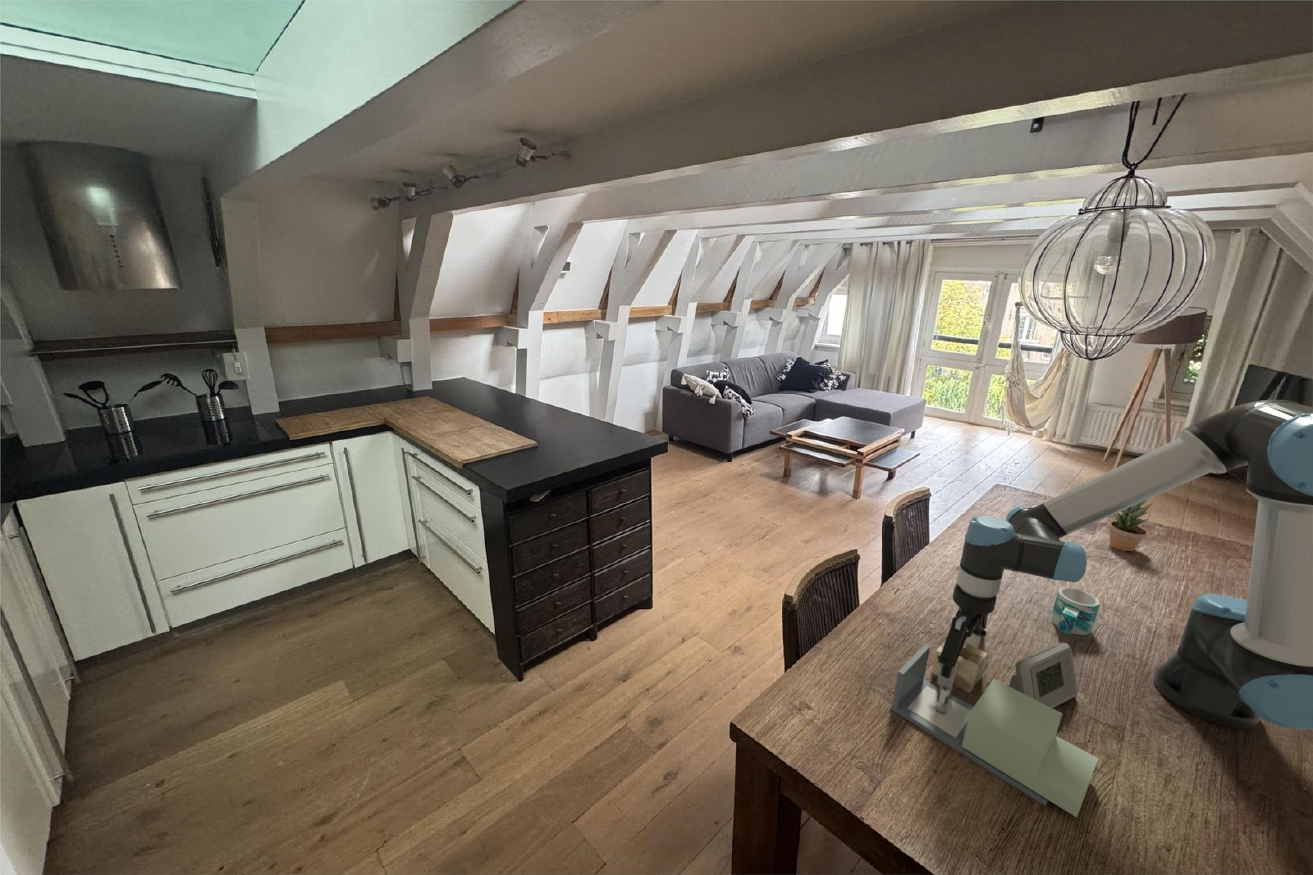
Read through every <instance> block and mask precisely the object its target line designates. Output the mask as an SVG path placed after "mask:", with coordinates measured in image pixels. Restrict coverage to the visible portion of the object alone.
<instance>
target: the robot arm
mask: <svg viewBox="0 0 1313 875" xmlns="http://www.w3.org/2000/svg"><path fill="white" fill-rule="evenodd" d="M1244 466H1247V473H1246V474H1247V475H1246V484H1245V485H1246V486H1245V490H1246V492H1247V493H1249V494H1250V495H1252V496H1253V497H1254V498H1255V499H1257V502H1258V503H1257V511H1256V520H1255V528H1254V536H1253V537H1254V538H1253V546H1252V555H1251V565H1250V573H1249V580H1248V590H1247V600H1246V599H1243V598H1239V597H1234V596H1231V595H1225V594H1218V593H1206V594H1201V595H1199V596H1198V597H1197V598H1196V600H1195V602H1194V603H1193V605H1192V606H1191V607H1190V608H1191V610H1190V613H1189V616H1188V618H1187V621H1186V624H1185V626H1184V629H1183V633H1182V635H1181V638H1180V640H1179V645H1178V647H1177V649H1176V650H1175V651H1176V652H1175V653H1173V654H1172V655H1171V656H1170V657H1169V658H1167V659H1166V660H1165V661H1164V662H1163V663H1162V664H1161V665H1160V666H1158V668H1157V669H1156V671H1155V674H1154V676H1153V683H1154V686H1155V687H1156V689H1157V690H1158V691H1159V692H1160V693H1161V695H1162V696H1164V698H1166V699H1167V700H1169V701H1170V702H1171V703H1173V704H1174V705H1176V706H1177V707H1178V708H1180V709H1182V710H1184V711H1185V712H1187V713H1189V714H1191V715H1193V716H1196V717H1198V718H1199V719H1202V720H1204V721H1206V722H1210V723H1212V724H1216V725H1219V726H1222V727H1225V728H1230V729H1237V730H1250V729H1254V728H1256V726H1257V725H1258V724H1259V721H1260V719H1261V718H1262V719H1264V720H1265V721H1267V722H1269V723H1271V724H1273V725H1276V726H1279V727H1284V728H1287V729H1295V730H1306V731H1307V730H1313V407H1311V406H1307V405H1305V404H1303V403H1300V402H1297V401H1292V400H1284V399H1266V400H1257V401H1256V400H1255V401H1252V402H1251V401H1250V402H1247V403H1244V404H1240V405H1236V406H1234V407H1231V408H1229V409H1226V410H1223V411H1220V412H1218V413H1215V414H1213V415H1211V416H1208V417H1206V418H1204V419H1202V420H1200V421H1198V422H1195V423H1194V424H1192V425H1189V426H1187V427H1185V428H1182V429H1181V430H1180V431H1179V434H1178V437H1177V438H1175V439H1173V440H1172V441H1170V442H1168V443H1164V444H1163V445H1160V446H1159V447H1157V448H1155V449H1153V450H1151V451H1149V452H1147V453H1144V454H1142V455H1141V456H1139V457H1136V458H1134V459H1132V460H1130V461H1128V462H1126V463H1124V464H1122V465H1120V466H1118V467H1116V468H1113V469H1111V470H1109V471H1107V472H1105V473H1103V474H1101V475H1099V476H1096V477H1095V478H1092V479H1091V480H1088V481H1086V482H1085V483H1082V484H1080V485H1077V486H1076V487H1074V488H1072V489H1069V490H1068V491H1066V492H1064V493H1062V494H1059V495H1057V496H1055V497H1054V498H1051V499H1049V500H1047V501H1045V502H1043V503H1040V504H1039V505H1036V506H1031V505H1030V506H1029V505H1022V506H1021V505H1020V506H1016V507H1014V508H1012V509H1011V510H1010V511H1009V512H1008V514H1007V515H1006V517H1005V519H1003V518H999V517H996V516H992V515H983V514H982V515H977V516H974V517H972V518H971V519H970V520H969V524H968V528H967V531H966V534H965V535H964V542H963V543H964V544H963V549H962V551H961V558H960V563H959V565H957V566H956V567H955V569H956V571H958V572H957V575H956V579H955V581H956V582H955V584H954V588H953V592H952V601H953V602H954V603H955V604H956V606H957V607H958V608H959V607H960V609H961V610H958V609H957V612H956V614H955V616H953V618H952V619H951V620H952V621H951V623H950V628H949V630H948V633H947V636H946V638H945V640H946V641H945V640H944V641H945V644H944V647H943V649H942V652H941V655H940V656H939V655H938V662H940V663H941V667H940V671H939V675H938V676H937V682H936V686H937V685H938V687H941V686H943V687H946V688H948V689H949V690H950V691H951V692H952V689H953V681H954V677H955V673H956V669H957V665H958V664H956V662H957V660H958V658H959V655H960V653H961V651H962V648H963V646H964V644H965V643H967V644H969V645H971V646H974V647H976V648H978V649H979V646H980V642H981V637H984V638H985V637H986V635H987V634H988V633H987V631H985V630H986V628H987V623H986V620H987V621H988V618H987V614H988V615H989V614H991V613H993V612H994V610H995V608H996V604H997V603H996V602H997V598H998V594H999V592H1000V587H1001V584H1002V580H1003V573H1004V571H1005V570H1007V571H1011V572H1016V573H1017V572H1018V573H1021V574H1026V575H1031V576H1036V577H1040V578H1045V579H1049V580H1050V579H1051V580H1053V581H1061V582H1062V581H1063V582H1069V583H1077V582H1080V581H1081V579H1083V578H1084V576H1085V573H1086V570H1087V566H1088V558H1087V553H1086V550H1085V548H1084V547H1083V546H1082V545H1081V544H1078V543H1074V542H1070V541H1069V540H1061V538H1063V537H1065V536H1067V535H1070V534H1072V533H1074V532H1076V531H1079V530H1080V529H1083V528H1086V527H1088V526H1090V525H1093V524H1095V523H1097V522H1099V521H1103V520H1105V519H1107V518H1110V517H1111V516H1114V514H1116V515H1117V513H1120V512H1121V511H1123V510H1125V509H1127V508H1129V507H1132V506H1134V505H1136V504H1139V503H1141V502H1143V501H1145V500H1147V501H1148V500H1150V499H1153V498H1155V497H1157V496H1159V495H1161V494H1163V493H1166V492H1169V491H1170V490H1173V489H1176V488H1178V487H1180V486H1182V485H1184V484H1187V483H1189V482H1191V481H1193V480H1196V479H1198V478H1200V477H1202V476H1205V475H1206V474H1209V473H1214V472H1215V473H1220V474H1225V473H1227V472H1230V471H1232V470H1234V469H1237V468H1239V467H1240V468H1241V467H1244ZM983 629H985V630H983ZM966 630H967V632H966ZM979 634H980V635H981V636H979Z"/></svg>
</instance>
